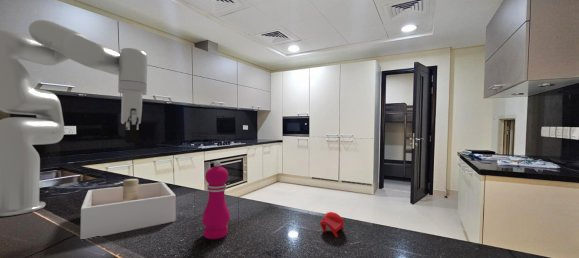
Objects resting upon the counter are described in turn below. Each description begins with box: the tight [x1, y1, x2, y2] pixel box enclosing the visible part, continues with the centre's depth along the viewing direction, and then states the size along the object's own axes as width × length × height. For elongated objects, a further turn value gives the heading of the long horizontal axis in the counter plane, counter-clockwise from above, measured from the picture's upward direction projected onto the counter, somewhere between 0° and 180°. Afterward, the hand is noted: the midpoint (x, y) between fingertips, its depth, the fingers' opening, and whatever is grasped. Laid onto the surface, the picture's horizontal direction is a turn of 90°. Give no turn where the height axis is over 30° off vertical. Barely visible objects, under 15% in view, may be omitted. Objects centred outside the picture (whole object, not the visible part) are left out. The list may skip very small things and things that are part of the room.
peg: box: [122, 178, 139, 202], centre depth 74 cm, size 4×4×12 cm
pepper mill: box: [201, 160, 231, 240], centre depth 64 cm, size 7×7×20 cm
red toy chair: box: [319, 211, 345, 238], centre depth 66 cm, size 8×6×6 cm
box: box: [79, 181, 177, 240], centre depth 74 cm, size 22×22×8 cm
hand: (131, 142), depth 74 cm, fingers open, 9 cm apart
